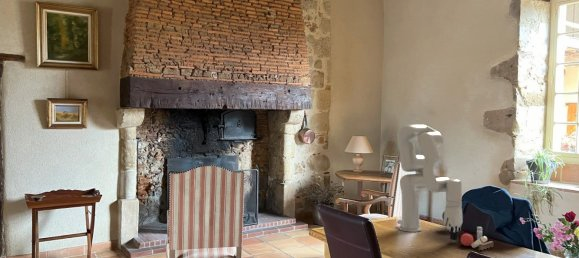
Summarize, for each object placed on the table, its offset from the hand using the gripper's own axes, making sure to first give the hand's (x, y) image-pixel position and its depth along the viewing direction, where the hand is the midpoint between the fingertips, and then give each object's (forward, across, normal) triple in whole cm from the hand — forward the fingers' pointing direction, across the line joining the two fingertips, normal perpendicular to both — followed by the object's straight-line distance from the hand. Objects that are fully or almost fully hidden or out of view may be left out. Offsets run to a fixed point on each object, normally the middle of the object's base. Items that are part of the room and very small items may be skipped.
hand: (453, 239), depth 228 cm
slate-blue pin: (+2, -7, +10) cm, 12 cm away
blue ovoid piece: (+2, -21, -16) cm, 26 cm away
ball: (-2, +1, +8) cm, 8 cm away
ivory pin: (0, +1, +11) cm, 11 cm away
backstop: (+2, -2, +16) cm, 16 cm away
